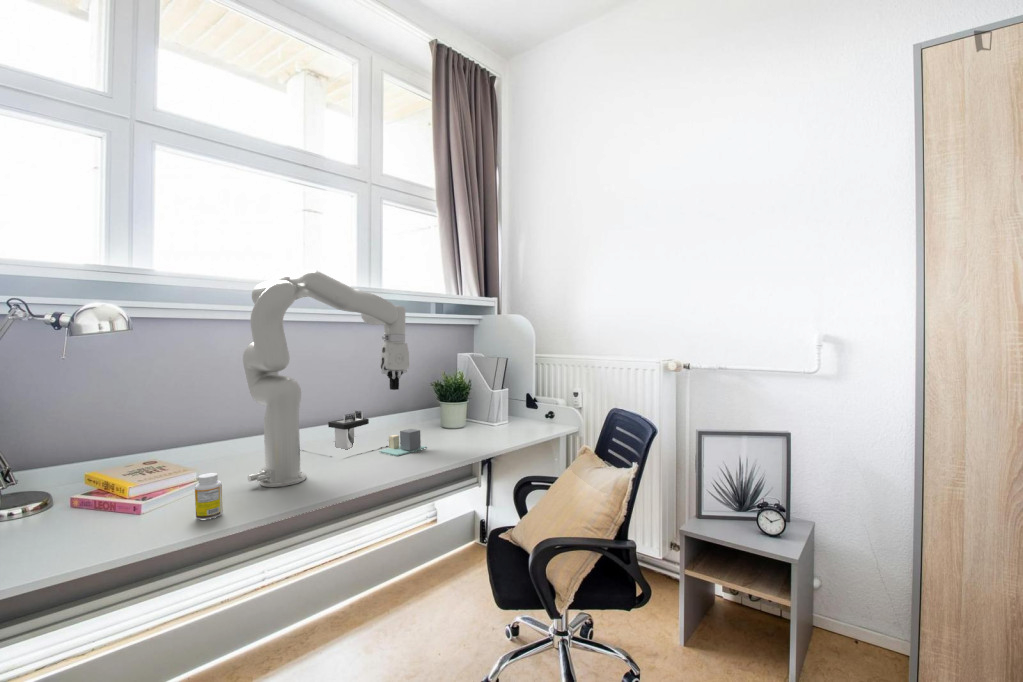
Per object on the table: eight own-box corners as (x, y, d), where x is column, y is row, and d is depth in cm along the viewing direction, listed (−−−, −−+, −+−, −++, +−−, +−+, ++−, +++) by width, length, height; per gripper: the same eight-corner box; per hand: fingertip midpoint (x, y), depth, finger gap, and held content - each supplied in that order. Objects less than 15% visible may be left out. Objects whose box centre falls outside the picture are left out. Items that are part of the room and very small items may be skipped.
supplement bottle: (205, 512, 120) (204, 471, 120) (227, 512, 120) (226, 471, 120) (190, 521, 115) (188, 478, 114) (213, 521, 115) (212, 478, 114)
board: (397, 456, 172) (396, 441, 172) (378, 452, 178) (378, 438, 178) (426, 448, 183) (426, 434, 183) (408, 444, 189) (408, 431, 189)
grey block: (409, 450, 175) (409, 432, 175) (400, 448, 179) (400, 431, 179) (420, 447, 180) (420, 430, 179) (411, 446, 183) (410, 428, 183)
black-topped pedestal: (340, 459, 169) (339, 421, 169) (298, 450, 184) (297, 415, 184) (401, 443, 192) (400, 410, 192) (359, 436, 207) (358, 405, 207)
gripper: (384, 339, 169) (383, 391, 169) (417, 339, 181) (416, 388, 180) (371, 339, 173) (370, 390, 173) (404, 339, 185) (403, 387, 185)
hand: (394, 389), depth 177 cm, fingers closed
